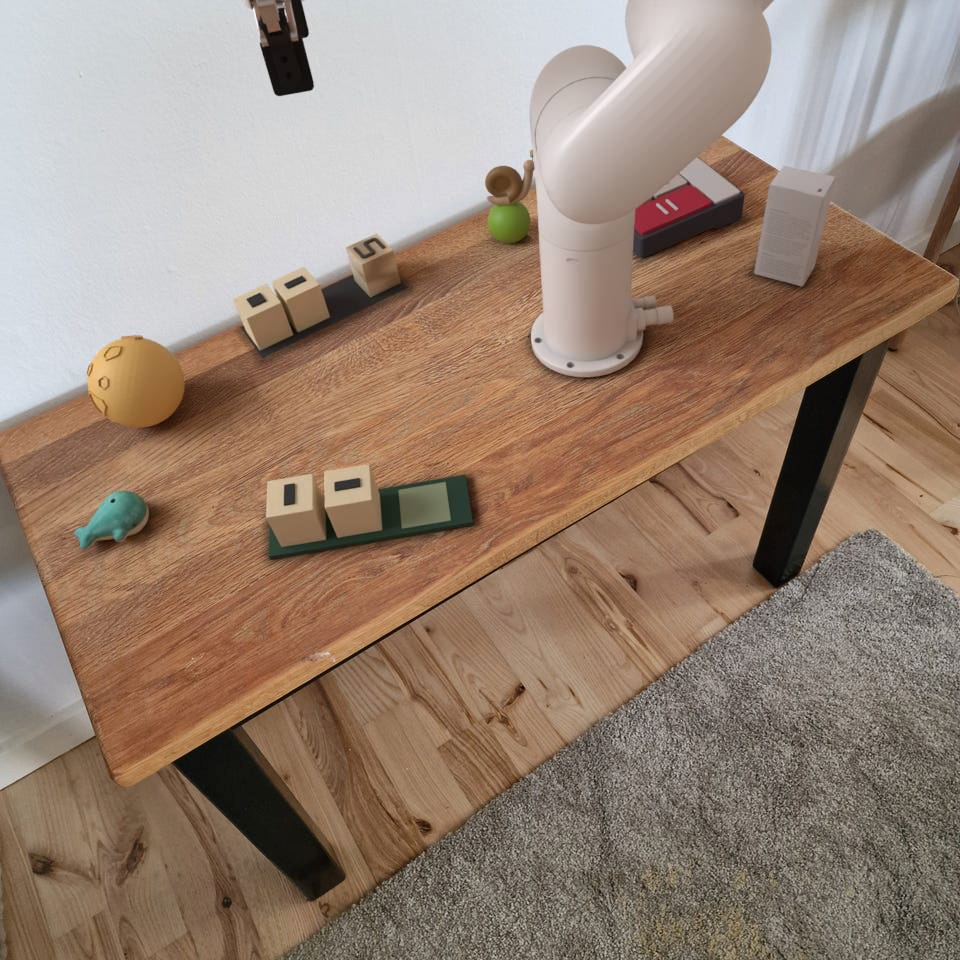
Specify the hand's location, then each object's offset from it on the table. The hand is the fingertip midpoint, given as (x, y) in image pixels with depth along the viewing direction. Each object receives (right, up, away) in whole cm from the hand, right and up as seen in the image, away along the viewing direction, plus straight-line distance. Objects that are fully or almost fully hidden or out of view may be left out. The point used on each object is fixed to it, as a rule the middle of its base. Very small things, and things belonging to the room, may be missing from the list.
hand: (293, 64), depth 69 cm
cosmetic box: (+52, -10, +29) cm, 60 cm away
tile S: (+3, -10, +35) cm, 37 cm away
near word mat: (+5, -38, +13) cm, 41 cm away
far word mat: (-4, -14, +34) cm, 37 cm away
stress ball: (-22, -27, +26) cm, 43 cm away
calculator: (+40, -1, +38) cm, 55 cm away
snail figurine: (+20, -3, +39) cm, 44 cm away
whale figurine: (-21, -40, +16) cm, 48 cm away
